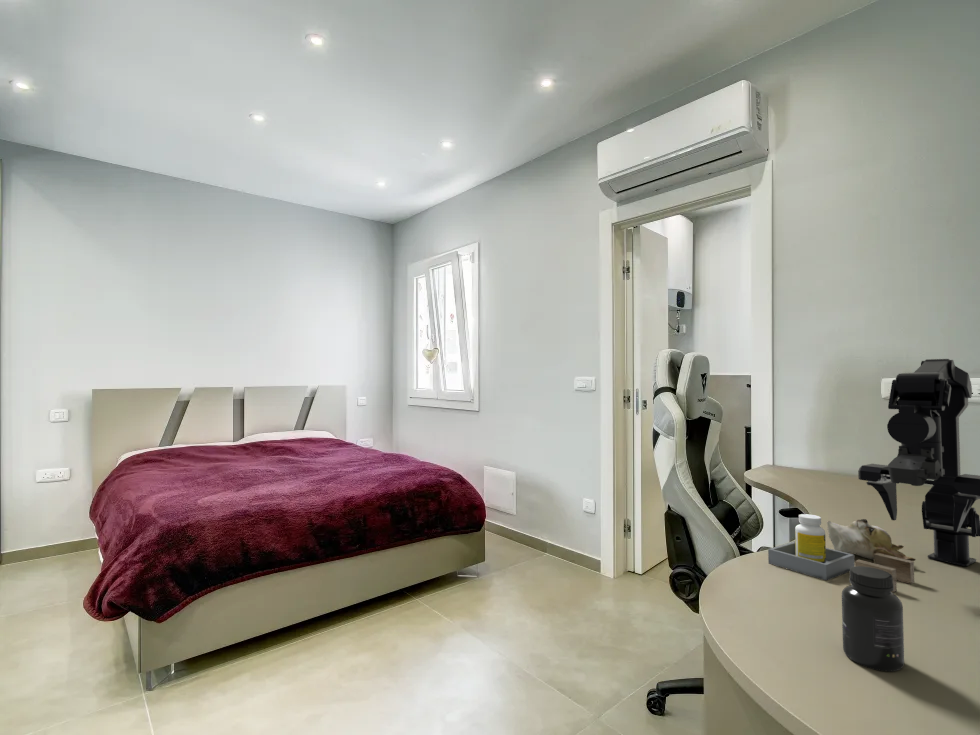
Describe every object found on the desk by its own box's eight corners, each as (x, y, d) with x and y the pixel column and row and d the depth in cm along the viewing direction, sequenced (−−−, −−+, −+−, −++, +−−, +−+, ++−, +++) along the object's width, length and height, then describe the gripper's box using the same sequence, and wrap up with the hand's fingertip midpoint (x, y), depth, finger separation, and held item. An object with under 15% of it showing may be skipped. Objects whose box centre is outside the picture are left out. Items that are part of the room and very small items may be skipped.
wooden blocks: (877, 572, 103) (877, 552, 103) (914, 582, 98) (913, 561, 98) (855, 582, 98) (855, 561, 98) (892, 592, 93) (892, 570, 93)
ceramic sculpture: (824, 508, 121) (903, 519, 114) (822, 545, 121) (902, 558, 114) (830, 519, 111) (917, 532, 104) (828, 559, 111) (915, 574, 104)
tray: (797, 554, 114) (796, 540, 115) (854, 569, 105) (854, 554, 105) (768, 563, 109) (768, 549, 109) (826, 580, 99) (826, 564, 99)
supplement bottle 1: (831, 568, 103) (829, 520, 104) (801, 567, 105) (800, 518, 105) (819, 559, 109) (818, 513, 109) (791, 558, 110) (790, 512, 110)
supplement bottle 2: (831, 648, 73) (828, 563, 74) (875, 645, 74) (872, 562, 74) (870, 674, 67) (867, 581, 67) (918, 672, 67) (915, 580, 68)
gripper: (843, 438, 98) (845, 520, 98) (972, 448, 82) (975, 546, 82) (870, 435, 104) (872, 512, 103) (995, 444, 88) (998, 535, 87)
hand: (923, 525), depth 94 cm, fingers open, 9 cm apart
